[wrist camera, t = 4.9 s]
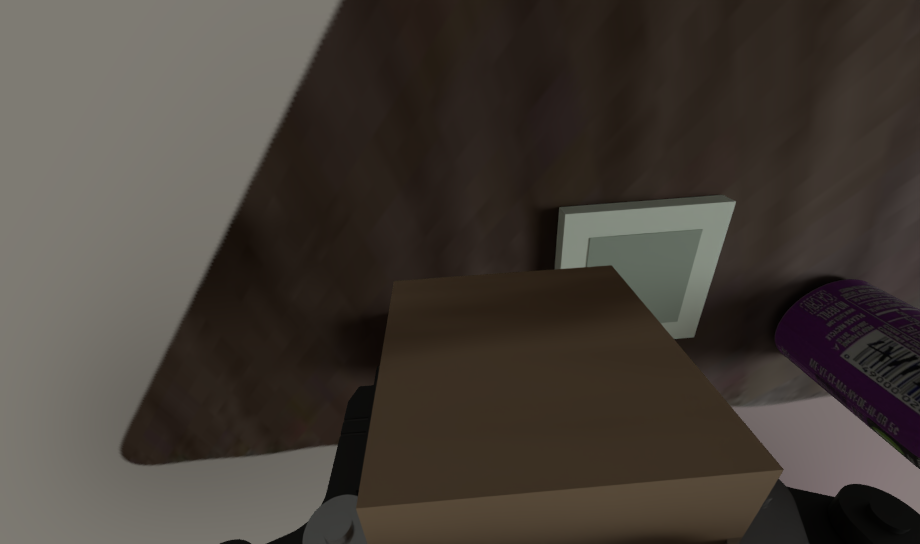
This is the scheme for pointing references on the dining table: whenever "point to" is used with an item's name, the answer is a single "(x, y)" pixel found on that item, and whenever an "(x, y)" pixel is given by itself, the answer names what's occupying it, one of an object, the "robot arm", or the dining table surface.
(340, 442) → the robot arm
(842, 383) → the beverage can
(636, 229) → the plate
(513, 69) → the dining table surface
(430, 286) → the walnut cube
